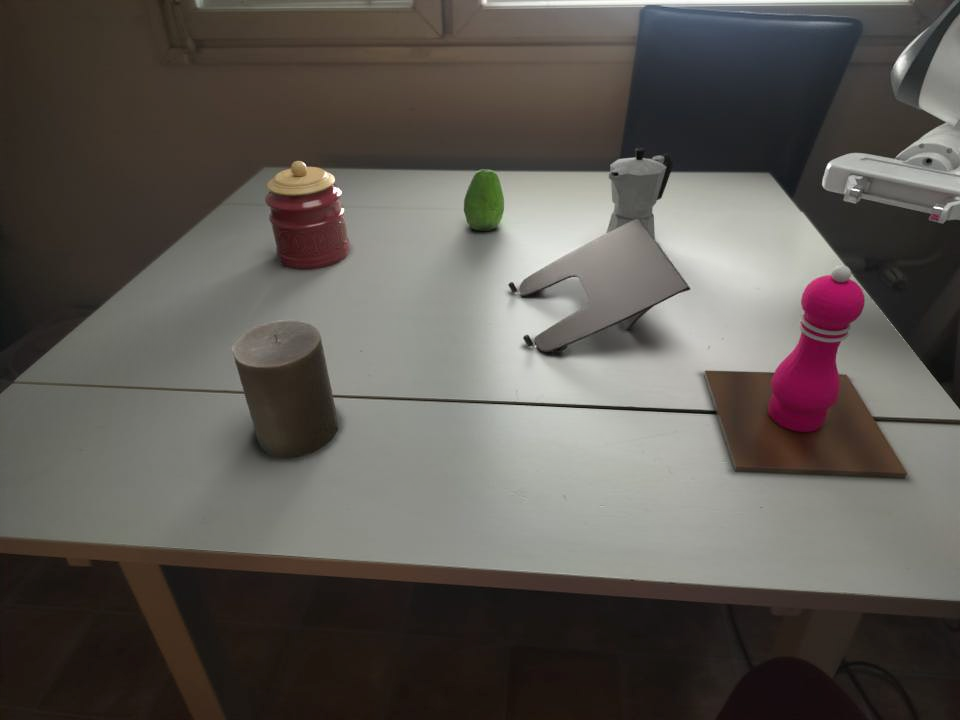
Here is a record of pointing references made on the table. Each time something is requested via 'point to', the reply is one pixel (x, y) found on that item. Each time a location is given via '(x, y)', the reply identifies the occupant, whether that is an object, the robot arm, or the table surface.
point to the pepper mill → (816, 353)
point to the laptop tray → (607, 284)
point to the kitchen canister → (307, 217)
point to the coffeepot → (638, 188)
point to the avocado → (484, 201)
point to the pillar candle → (287, 387)
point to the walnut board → (774, 449)
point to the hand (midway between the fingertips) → (892, 205)
